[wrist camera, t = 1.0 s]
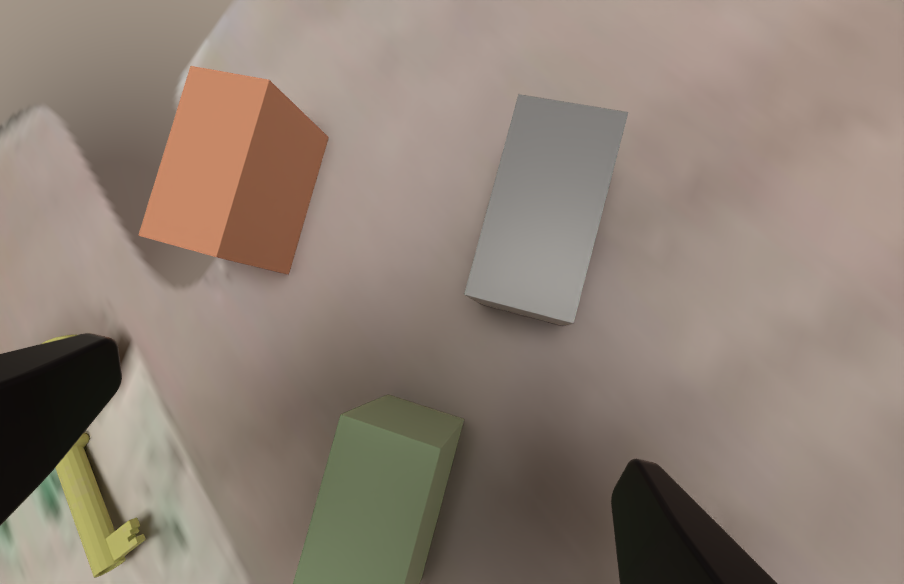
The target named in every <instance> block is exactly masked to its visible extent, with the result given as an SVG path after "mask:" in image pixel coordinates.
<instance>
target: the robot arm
mask: <svg viewBox="0 0 904 584" xmlns="http://www.w3.org/2000/svg"><path fill="white" fill-rule="evenodd" d="M121 380H122V373H121V366H120V358H119V351H118V345H117V343H116V342H115V340H113V339H112V338H109V337H105V336H100V335H96V334H90V333H85V334H80V335H76V336H72V337H68V338H64V339H60V340H56V341H52V342H48V343H44V344H40V345H35V346H31V347H27V348H23V349H19V350H15V351H11V352H7V353H3V354H0V525H1V524H2V523H3V522H4V521H5V520H6V519H7V518H8V517H9V516H10V515H11V514H12V513H13V512H14V511H15V510H16V509H17V508H18V507H19V506H20V505H21V504H22V503H23V502H24V501H25V500H26V498H27V497H28V496H29V495H30V494H31V493H32V492H33V491H34V490H35V489H36V488H37V487H38V486H39V485H40V484H41V483H42V482H43V481H44V480H45V478H46V477H47V476H48V475H49V474H50V473H51V472H52V471H53V470H54V468H55V467H56V466H57V465H58V464H59V463H60V461H61V460H62V459H63V458H64V457H65V455H66V454H67V453H68V452H69V450H70V449H71V448H72V447H73V445H74V444H75V443H76V442H77V441H78V439H79V438H80V437H81V436H82V434H83V433H84V432H85V431H86V429H87V428H88V427H89V426H90V424H91V423H92V422H93V421H94V419H95V418H96V417H97V416H98V414H99V413H100V412H101V411H102V409H103V408H104V407H105V406H106V405H107V403H108V402H109V401H110V400H111V398H112V397H113V396H114V395H115V393H116V392H117V390H118V389H119V387H120V384H121ZM611 504H612V514H613V523H614V532H615V542H616V551H617V560H618V569H619V578H620V584H777V583H776V582H775V581H774V580H773V579H772V578H771V577H770V576H769V575H768V574H767V573H766V572H765V571H764V570H763V569H762V568H761V567H760V566H759V565H758V564H757V563H756V562H755V561H754V560H753V559H752V558H751V557H750V556H749V555H748V554H747V553H746V552H745V551H744V550H743V549H742V548H741V547H740V546H739V545H738V544H737V543H736V542H735V541H734V540H733V539H732V538H731V537H730V536H729V535H728V534H727V533H726V532H725V531H724V530H723V529H722V528H721V527H720V526H719V525H718V524H717V523H716V522H715V521H714V520H713V519H712V518H711V517H710V516H709V515H708V514H707V513H706V512H705V511H704V510H703V509H702V508H701V507H700V506H699V505H698V504H697V503H696V502H695V501H694V500H693V499H692V498H691V497H690V496H689V495H688V494H687V493H686V492H685V491H684V490H683V489H682V488H681V487H680V486H679V485H678V484H677V483H676V482H675V481H674V480H673V479H672V478H671V477H670V476H669V475H668V474H667V473H666V472H665V471H664V470H663V469H662V468H661V467H660V466H659V465H657V464H656V463H653V462H649V461H644V460H640V459H633V460H631V461H630V462H629V463H628V464H627V466H626V468H625V470H624V472H623V473H622V475H621V477H620V479H619V480H618V482H617V484H616V486H615V488H614V490H613V493H612V499H611Z"/></svg>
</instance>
